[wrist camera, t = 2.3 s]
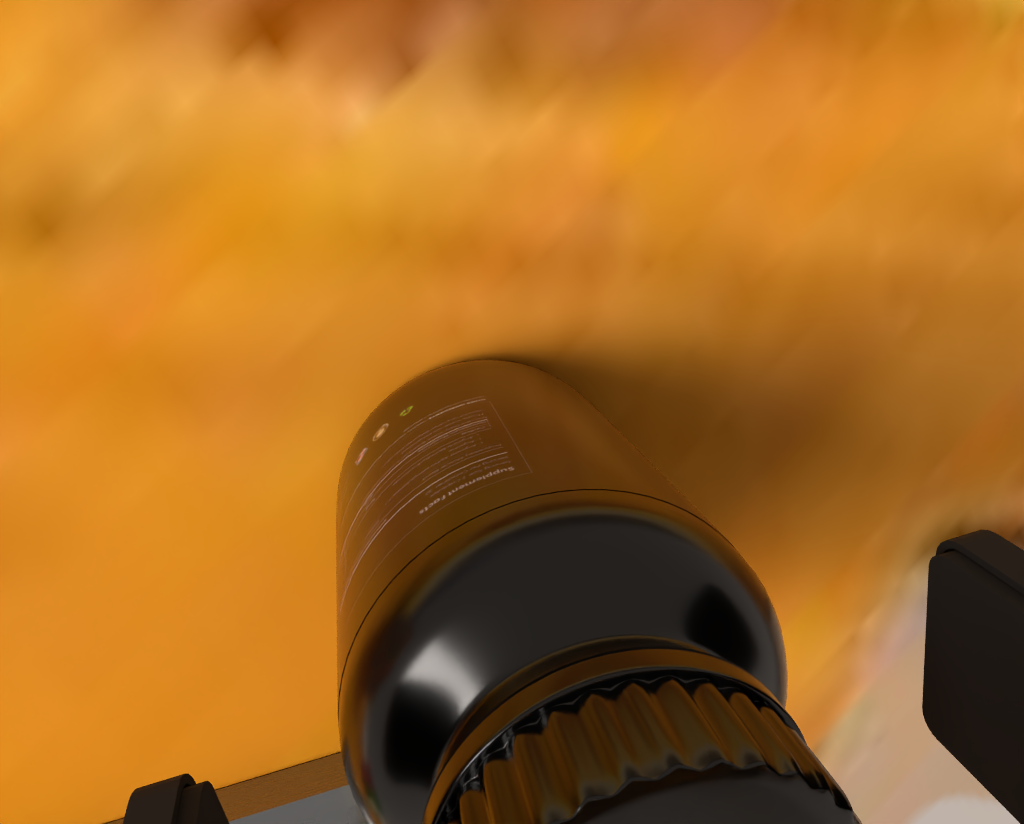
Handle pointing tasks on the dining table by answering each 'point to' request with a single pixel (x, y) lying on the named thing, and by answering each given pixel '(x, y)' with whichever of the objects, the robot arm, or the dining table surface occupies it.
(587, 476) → the supplement bottle
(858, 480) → the dining table surface
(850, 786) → the dining table surface
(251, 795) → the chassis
